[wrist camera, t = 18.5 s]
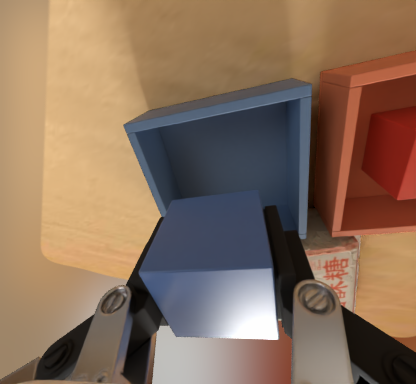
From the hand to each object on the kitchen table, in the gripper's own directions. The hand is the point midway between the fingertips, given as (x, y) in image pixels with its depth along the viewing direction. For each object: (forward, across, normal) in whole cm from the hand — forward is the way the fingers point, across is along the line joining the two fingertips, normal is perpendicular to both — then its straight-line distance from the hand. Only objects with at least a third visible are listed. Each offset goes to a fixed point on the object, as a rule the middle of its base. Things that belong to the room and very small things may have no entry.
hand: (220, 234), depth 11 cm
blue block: (+1, 0, 0) cm, 1 cm away
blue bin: (+9, 0, 0) cm, 9 cm away
